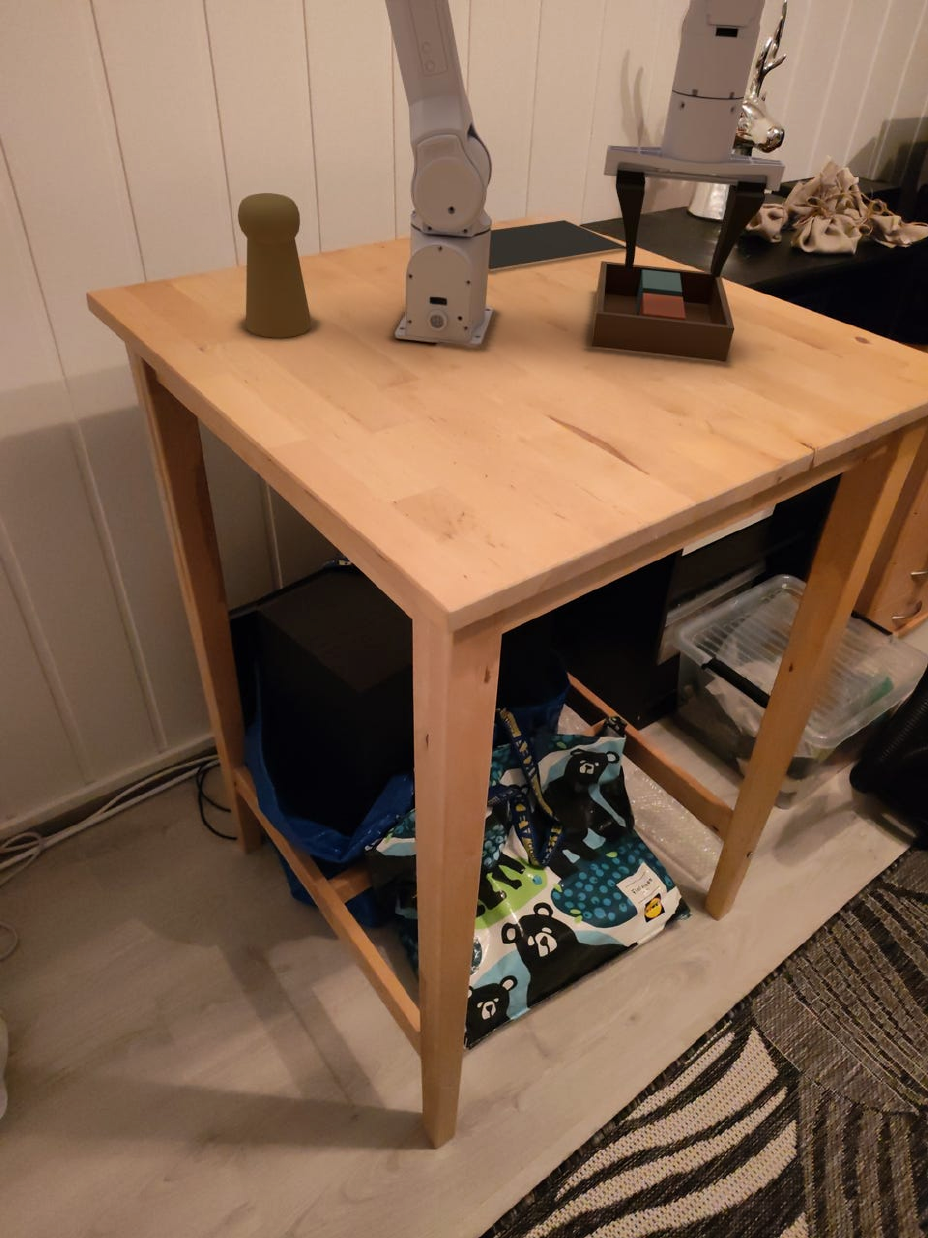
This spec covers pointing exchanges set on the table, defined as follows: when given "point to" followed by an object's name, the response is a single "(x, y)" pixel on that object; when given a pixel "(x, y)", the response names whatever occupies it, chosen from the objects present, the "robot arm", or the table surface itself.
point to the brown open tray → (692, 338)
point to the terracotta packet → (662, 306)
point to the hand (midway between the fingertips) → (671, 269)
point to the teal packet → (658, 284)
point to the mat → (543, 243)
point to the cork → (273, 267)
